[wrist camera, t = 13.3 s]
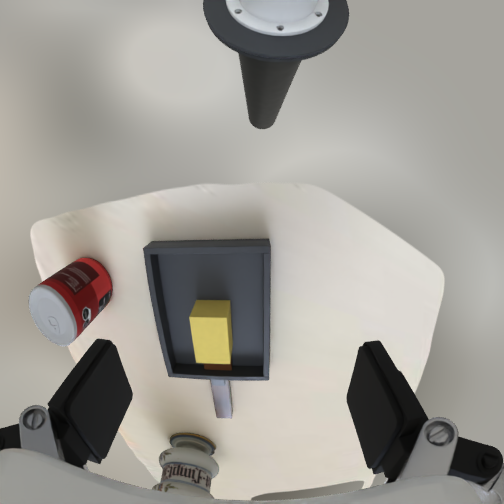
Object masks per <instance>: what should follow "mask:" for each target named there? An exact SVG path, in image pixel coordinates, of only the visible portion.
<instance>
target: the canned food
mask: <svg viewBox="0 0 504 504" xmlns="http://www.w3.org/2000/svg"><path fill="white" fill-rule="evenodd" d="M111 295H112V282H111V279H110V276H109V274H108V272H107V271H106V269H105V268H104V267H103V266H102V265H101V264H100V263H99V262H98V261H96V260H94V259H91V258H80V259H78V260H76V261H74V262H73V263H71V264H70V265H68V266H66V267H65V268H63V269H62V270H60V271H58V272H57V273H55V274H54V275H52V276H51V277H49V278H48V279H46V280H45V281H43V282H42V283H40V284H39V285H37V286H36V287H35V288H34V289H33V290H32V291H31V293H30V295H29V308H30V312H31V315H32V318H33V320H34V322H35V324H36V326H37V327H38V329H39V330H40V331H41V333H42V334H44V336H45V337H46V338H48V339H49V340H50V341H52V342H53V343H55V344H57V345H60V346H67V345H70V344H71V343H72V342H73V341H74V340H75V339H76V338H77V337H78V336H79V335H80V334H81V333H82V332H83V331H84V329H85V328H86V327H87V326H88V325H89V324H90V323H91V322H92V321H93V320H94V318H95V317H96V316H97V315H98V314H99V313H100V312H101V311H102V310H103V309H104V308H105V307H106V306H107V304H108V303H109V301H110V298H111Z"/></svg>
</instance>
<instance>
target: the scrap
mask: <svg viewBox="0 0 504 504" xmlns="http://www.w3.org/2000/svg"><path fill="white" fill-rule="evenodd" d="M204 369H206V370H232V355H231V362H230V364H213V363H204Z"/></svg>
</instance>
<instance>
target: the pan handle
mask: <svg viewBox="0 0 504 504" xmlns="http://www.w3.org/2000/svg"><path fill="white" fill-rule="evenodd" d="M210 381H211V387H212V393H213V399H214V405H215V411H216V416H217V418H232V412H233V410H232V401H231V391H230V382H229V380H210Z"/></svg>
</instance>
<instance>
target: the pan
mask: <svg viewBox="0 0 504 504" xmlns="http://www.w3.org/2000/svg"><path fill="white" fill-rule="evenodd" d="M143 250H144V258H145V265H146V272H147V278H148V284H149V290H150V296H151V301H152V306H153V312H154V317H155V322H156V326H157V331H158V336H159V340H160V344H161V349H162V353H163V357H164V361H165V365H166V369H167V372H168V376H169V377H178V378H191V379H208V380H269V357H270V267H271V253H270V252H271V246H270V241H269V239H233V240H184V241H152V242H151V243H149V244H148V245H147V246H145V247H144V248H143ZM196 300H230V306H231V323H232V340H233V346H232V354H231V355H232V370H206V369H204V363H196V358H195V352H194V346H193V339H192V333H191V326H190V319H189V317H190V314H191V312H192V309H193V307H194V305H195V302H196Z"/></svg>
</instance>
